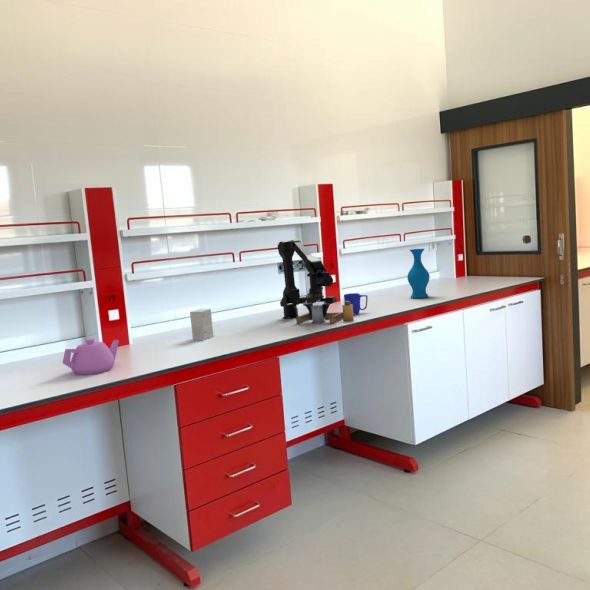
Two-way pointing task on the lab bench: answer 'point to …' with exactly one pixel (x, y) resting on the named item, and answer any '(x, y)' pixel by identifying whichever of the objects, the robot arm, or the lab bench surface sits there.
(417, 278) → the vase
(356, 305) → the mug
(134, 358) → the lab bench surface
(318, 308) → the pale blue canister
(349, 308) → the reagent bottle
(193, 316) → the small box
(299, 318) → the cradle
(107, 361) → the teapot
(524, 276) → the lab bench surface
